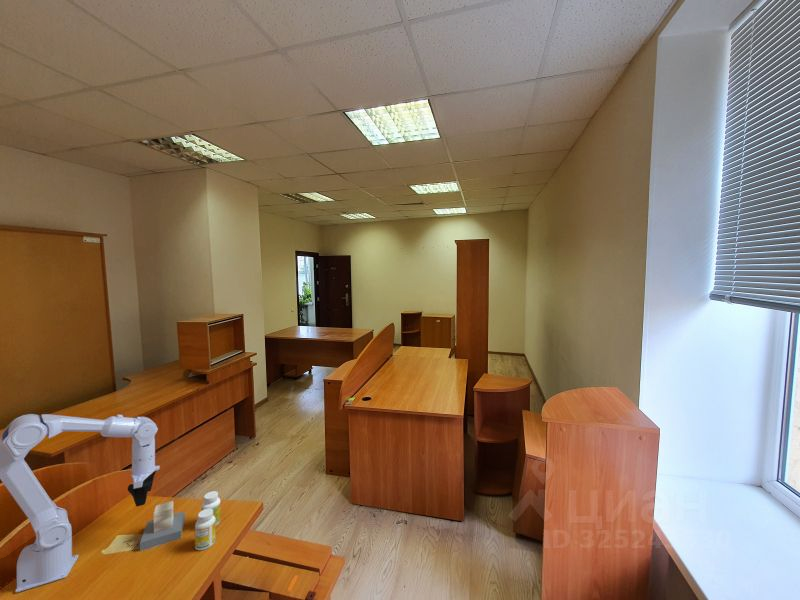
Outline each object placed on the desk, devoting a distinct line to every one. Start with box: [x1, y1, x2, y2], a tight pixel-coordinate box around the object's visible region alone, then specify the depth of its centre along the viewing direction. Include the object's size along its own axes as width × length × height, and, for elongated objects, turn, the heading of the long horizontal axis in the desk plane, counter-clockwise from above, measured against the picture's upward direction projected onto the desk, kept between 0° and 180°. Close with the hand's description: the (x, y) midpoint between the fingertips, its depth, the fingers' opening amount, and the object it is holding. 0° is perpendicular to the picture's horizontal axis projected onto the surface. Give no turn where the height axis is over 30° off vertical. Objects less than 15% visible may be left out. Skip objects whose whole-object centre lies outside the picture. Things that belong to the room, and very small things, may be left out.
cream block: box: [153, 500, 174, 533], centre depth 98 cm, size 4×4×6 cm
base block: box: [139, 510, 186, 552], centre depth 98 cm, size 10×10×3 cm
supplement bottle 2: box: [194, 508, 217, 551], centre depth 94 cm, size 5×5×10 cm
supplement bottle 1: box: [201, 490, 221, 526], centre depth 103 cm, size 5×5×10 cm
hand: (143, 497), depth 100 cm, fingers open, 7 cm apart
